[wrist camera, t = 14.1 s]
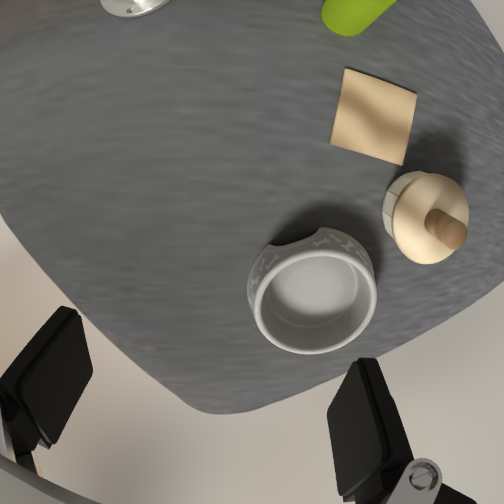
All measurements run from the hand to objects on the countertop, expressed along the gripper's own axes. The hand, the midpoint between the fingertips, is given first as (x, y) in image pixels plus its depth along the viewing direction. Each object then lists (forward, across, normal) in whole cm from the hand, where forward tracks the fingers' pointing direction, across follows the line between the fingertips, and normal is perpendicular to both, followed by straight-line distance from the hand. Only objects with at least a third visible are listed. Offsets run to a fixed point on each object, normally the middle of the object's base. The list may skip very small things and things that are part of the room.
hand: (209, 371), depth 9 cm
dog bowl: (+30, -11, +13) cm, 34 cm away
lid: (+25, -22, -2) cm, 34 cm away
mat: (+30, -14, -12) cm, 35 cm away
